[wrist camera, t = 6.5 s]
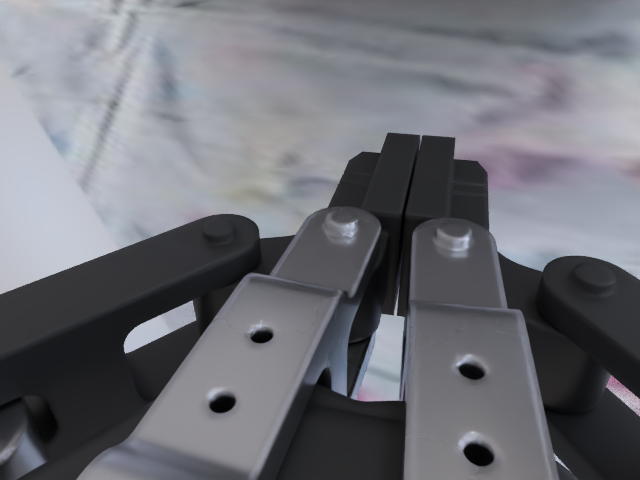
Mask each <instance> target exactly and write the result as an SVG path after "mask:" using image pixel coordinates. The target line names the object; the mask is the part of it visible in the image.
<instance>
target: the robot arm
mask: <svg viewBox="0 0 640 480" xmlns="http://www.w3.org/2000/svg"><path fill="white" fill-rule="evenodd" d="M419 147H420V150H419ZM454 148H455V138H454V137H440V136H427V135H423V136H422V140H421V145H420V135H413V134H400V133H387V136H386V139H385V142H384V144H383V147H382V150H381V153H374V152H361V153H360V154H358V155H357V156H355V157H354V158H352V159H351V160H349V162H348V164H347V167H346V169H345V171H344V174H343V175H342V178H341V180H340V184H338V186H337V189H336V191H335V193H334V195H333V197H332V199H331V202H330V204H329V206H328V208H325V209H321V210H319V211H316V212H315V213H313V214H311V215H310V216H309V217H308V218H307V219H306V220H305V222H304V223H303V225H302V226H301V228H300V229H299V231H298V232H297V234H296V235H292V236H286V237H274V238H261V239H260V236H259V229H258V226H257V225H256V223H254V222H253V221H252V220H250V219H249V218H246V217H244V216H240V215H234V214H219V215H212V216H208V217H205V218H202V219H199V220H196V221H194V222H191V223H188V224H186V225H183V226H180V227H178V228H175V229H172V230H170V231H167V232H164V233H162V234H159V235H156V236H154V237H151V238H149V239H146V240H143V241H141V242H138V243H135V244H133V245H130V246H127V247H125V248H122V249H119V250H117V251H114V252H112V253H109V254H106V255H104V256H101V257H98V258H96V259H93V260H90V261H88V262H85V263H83V264H80V265H77V266H74V267H72V268H69V269H67V270H64V271H61V272H59V273H56V274H54V275H51V276H48V277H45V278H43V279H40V280H38V281H35V282H32V283H30V284H27V285H25V286H22V287H19V288H17V289H14V290H11V291H8V292H6V293H4V294H0V480H640V416H638V415H637V414H636V413H635V412H634V411H633V410H632V409H630V408H629V407H628V406H627V405H626V404H625V403H624V402H622V401H621V400H620V399H619V398H618V397H617V396H616V395H614V394H613V393H612V392H611V391H610V390H609V389H608V388H606V385H607V382H608V380H609V378H610V375H612V376H613V377H614V378H616V379H617V380H618V381H619V382H620V383H622V384H623V385H624V386H625V387H626V388H627V389H629V390H630V391H631V392H632V393H633V394H635V395H636V396H637V397H638V398H639V399H640V280H639V279H637V278H636V277H634V276H633V275H631V274H630V273H628V272H626V271H625V270H623V269H621V268H620V267H618V266H616V265H614V264H612V263H609V262H606V261H603V260H600V259H596V258H592V257H586V256H564V257H560V258H557V259H554V260H552V261H551V262H549V263H548V264H547V265H546V266H545V268H544V270H543V272H541V271H538V270H534V269H531V268H528V267H525V266H522V265H520V264H517V263H515V262H513V261H511V260H509V259H508V258H506V257H504V256H503V255H502V254H500V253H499V252H498V251H497V247H496V242H495V239H494V237H493V236H492V234H491V233H490V232H489V211H488V188H487V187H488V175H487V172H486V171H485V169H484V168H483V167H482V166H481V165H480V164H479V163H478V162H477V161H469V160H457V159H454ZM398 290H399V297H398V309H397V316H403V317H405V321H404V331H403V342H402V354H401V371H400V389H399V401H373V402H364V401H357V400H356V398H357V395H358V392H359V389H360V386H361V383H362V380H363V377H364V374H365V371H366V368H367V365H368V362H369V359H370V356H371V353H372V350H373V347H374V344H375V332H376V329H377V328H378V325H379V322H380V317H381V313H382V314H388V315H394V310H395V305H396V300H397V295H398ZM192 300H193V305H194V310H195V315H196V319H197V320H196V321H194V322H192V323H190V324H188V325H186V326H184V327H182V328H180V329H177V330H175V331H173V332H171V333H169V334H167V335H165V336H163V337H161V338H159V339H157V340H155V341H153V342H151V343H148V344H147V345H144V346H142V347H140V348H138V349H136V350H134V351H132V352H129V353H126V354H125V352H124V341H125V339H126V337H127V335H128V334H129V333H130V332H131V331H132V330H133V329H134V328H135V327H136V326H138V325H140V324H141V323H144V322H146V321H148V320H150V319H152V318H155V317H157V316H159V315H161V314H163V313H166V312H168V311H170V310H172V309H174V308H176V307H179V306H181V305H183V304H185V303H187V302H189V301H192ZM554 454H555V455H556V456H557V457H558V458H559V459H560V460H561V461H562V462H563V463H564V465H565V466H566V467H567V468H568V469H569V470H570V471H571V472H572V473H573V474H572V473H571V472H570V471H569V470H567V469H566V468H565V467H563V466H562V465H561V464H560V463H558V462H557V461H555V458H554Z"/></svg>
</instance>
